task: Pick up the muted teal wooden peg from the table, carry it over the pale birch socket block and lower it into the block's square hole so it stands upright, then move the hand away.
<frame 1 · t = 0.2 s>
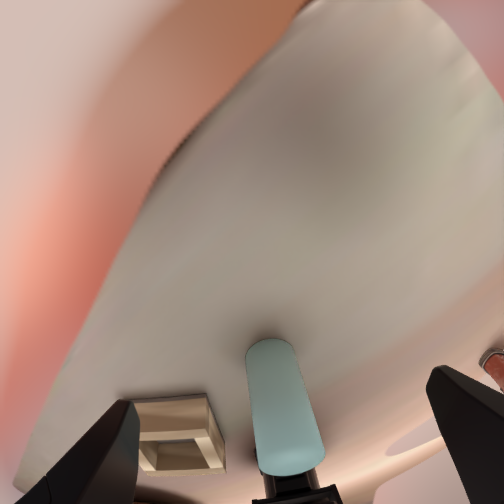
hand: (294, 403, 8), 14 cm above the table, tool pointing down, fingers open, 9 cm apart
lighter: (494, 360, 30), on the table
peg: (270, 358, 25), on the table
socket: (175, 423, 28), on the table
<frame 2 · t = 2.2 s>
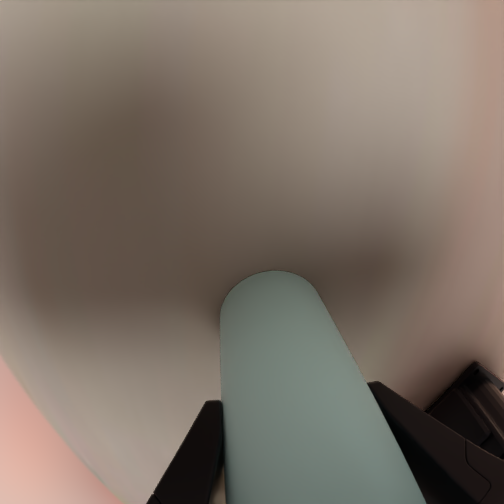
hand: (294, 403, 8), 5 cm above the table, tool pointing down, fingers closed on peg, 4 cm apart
peg: (271, 317, 12), on the table, touching gripper
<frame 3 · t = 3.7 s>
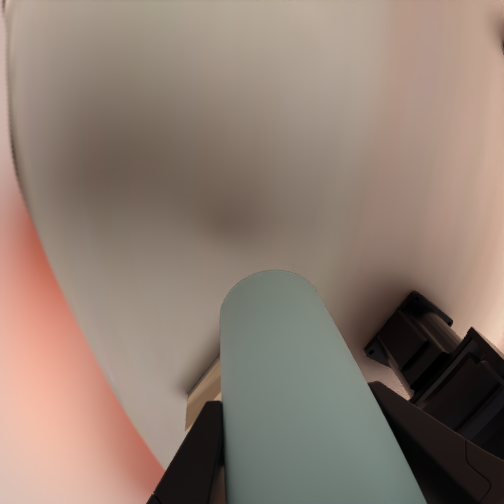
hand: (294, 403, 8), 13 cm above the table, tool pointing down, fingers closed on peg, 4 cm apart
peg: (271, 317, 12), point 8 cm above the table, touching gripper
socket: (255, 383, 24), on the table
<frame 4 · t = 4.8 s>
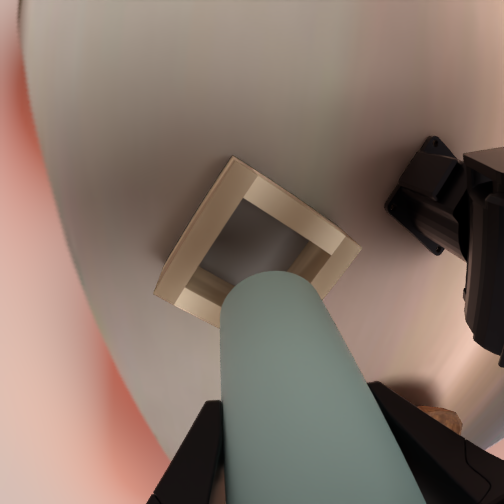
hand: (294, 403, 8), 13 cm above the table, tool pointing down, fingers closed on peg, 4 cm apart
bowl: (368, 444, 31), on the table
peg: (271, 317, 12), point 8 cm above the table, touching gripper
socket: (251, 245, 20), on the table
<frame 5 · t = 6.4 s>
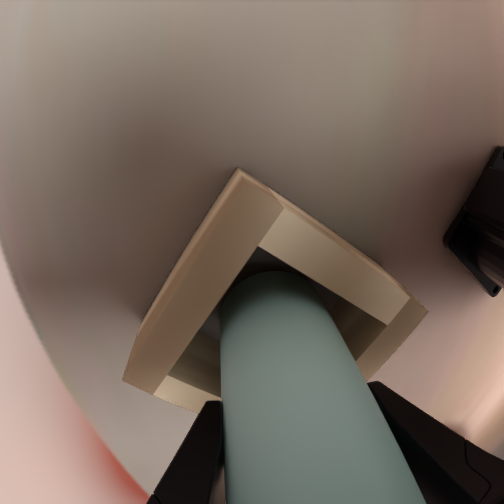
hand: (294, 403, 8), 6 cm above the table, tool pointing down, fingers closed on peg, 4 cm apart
peg: (272, 317, 12), point 2 cm above the table, touching gripper
socket: (264, 296, 14), on the table
when the fingers open (5 cm above the table, at t = 7.8 s): peg stays where it is, resting on socket.
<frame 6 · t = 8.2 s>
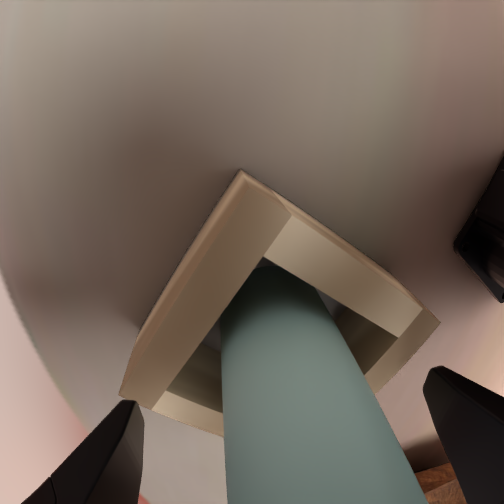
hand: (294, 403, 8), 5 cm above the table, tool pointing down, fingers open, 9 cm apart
bowl: (389, 493, 24), on the table
peg: (270, 311, 13), point 1 cm above the table, touching socket
socket: (267, 305, 13), on the table
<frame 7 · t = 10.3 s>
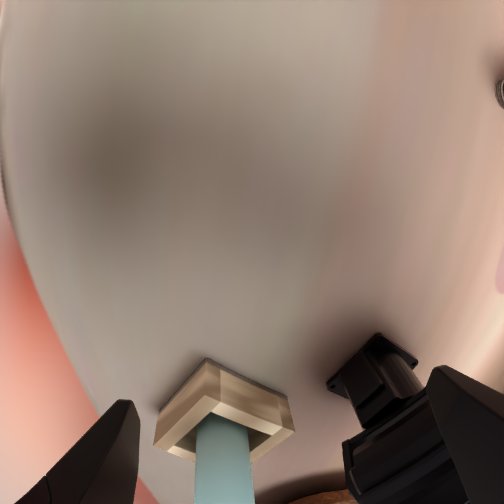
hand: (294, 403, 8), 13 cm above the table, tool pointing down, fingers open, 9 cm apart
bowl: (316, 503, 35), on the table
peg: (221, 410, 25), resting on socket
socket: (221, 406, 25), on the table
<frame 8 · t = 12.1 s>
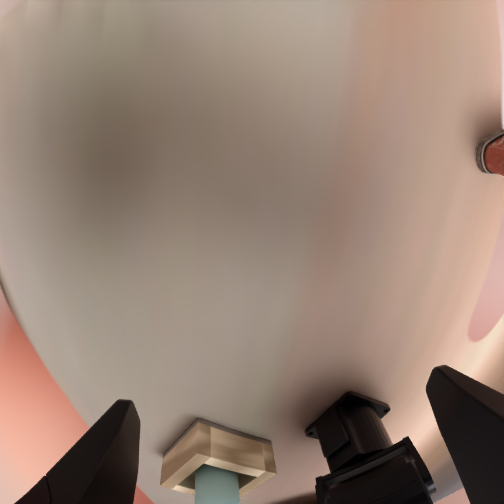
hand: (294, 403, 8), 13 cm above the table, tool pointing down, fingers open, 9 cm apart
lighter: (503, 149, 19), on the table
peg: (215, 453, 27), resting on socket
socket: (215, 450, 28), on the table
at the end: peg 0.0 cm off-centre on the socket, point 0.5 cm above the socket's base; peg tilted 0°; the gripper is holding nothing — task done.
